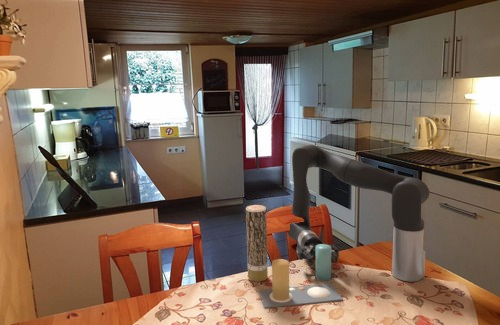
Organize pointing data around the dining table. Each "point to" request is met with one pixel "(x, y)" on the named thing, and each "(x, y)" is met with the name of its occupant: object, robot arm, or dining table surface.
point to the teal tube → (323, 262)
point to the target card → (302, 295)
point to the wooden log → (256, 242)
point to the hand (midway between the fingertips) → (324, 260)
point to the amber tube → (280, 279)
